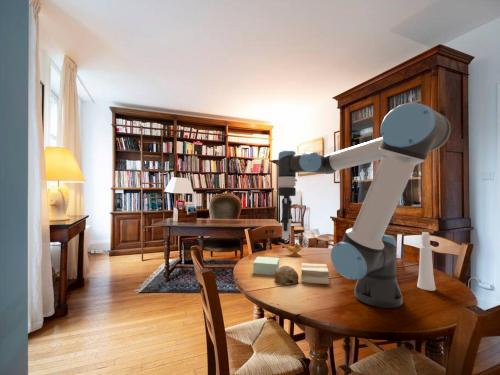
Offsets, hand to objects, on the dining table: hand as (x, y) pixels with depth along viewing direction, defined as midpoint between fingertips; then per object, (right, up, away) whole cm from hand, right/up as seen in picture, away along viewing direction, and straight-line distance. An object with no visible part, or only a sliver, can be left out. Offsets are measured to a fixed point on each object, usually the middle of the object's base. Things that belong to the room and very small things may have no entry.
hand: (286, 236), depth 105 cm
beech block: (+12, -19, +2) cm, 23 cm away
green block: (-8, -19, +12) cm, 24 cm away
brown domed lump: (0, -19, -1) cm, 19 cm away
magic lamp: (+10, -20, +42) cm, 48 cm away
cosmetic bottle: (+54, -19, -8) cm, 58 cm away
